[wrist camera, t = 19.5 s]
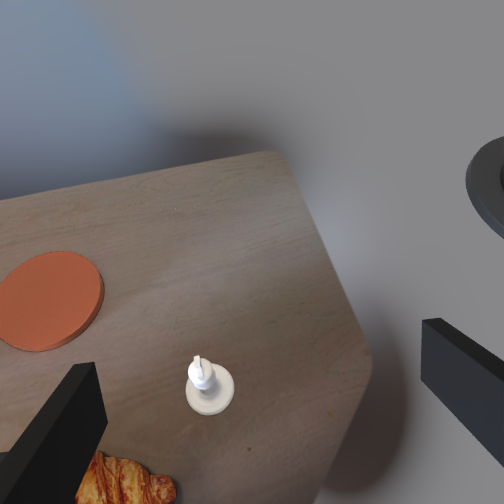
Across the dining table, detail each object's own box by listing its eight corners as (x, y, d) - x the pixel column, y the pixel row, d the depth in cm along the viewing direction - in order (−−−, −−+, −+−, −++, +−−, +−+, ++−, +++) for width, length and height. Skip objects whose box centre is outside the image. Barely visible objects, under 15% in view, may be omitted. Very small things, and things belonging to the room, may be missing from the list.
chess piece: (190, 421, 35) (171, 406, 26) (182, 371, 37) (161, 343, 29) (239, 406, 35) (235, 386, 27) (227, 358, 38) (220, 326, 29)
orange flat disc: (120, 312, 41) (117, 307, 40) (13, 374, 37) (7, 371, 36) (82, 240, 46) (78, 235, 45) (-16, 288, 42) (-22, 284, 41)
